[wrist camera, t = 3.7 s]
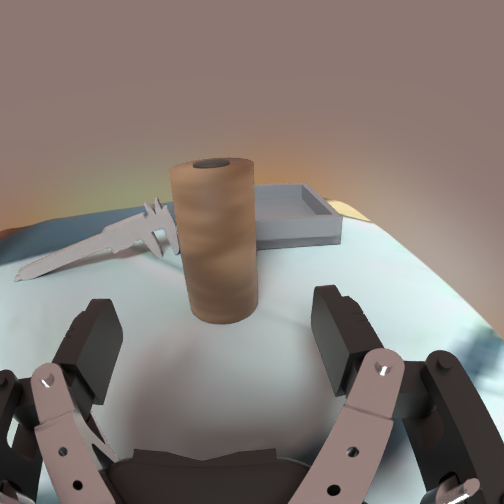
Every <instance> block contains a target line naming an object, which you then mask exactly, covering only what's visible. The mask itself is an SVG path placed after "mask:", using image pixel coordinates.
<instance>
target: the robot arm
mask: <svg viewBox="0 0 504 504" xmlns="http://www.w3.org/2000/svg"><path fill="white" fill-rule="evenodd" d="M311 327H312V332H313V335H314V338H315V340H316V343H317V346H318V349H319V351H320V354H321V357H322V360H323V363H324V365H325V368H326V371H327V374H328V377H329V379H330V382H331V385H332V388H333V391H334V394H335V397H338V396H342V395H345V396H346V399H347V400H346V402H345V404H344V406H343V408H342V410H341V412H340V414H339V416H338V418H337V420H336V422H335V424H334V426H333V428H332V430H331V432H330V434H329V436H328V438H327V440H326V441H325V443H324V445H323V447H322V449H321V451H320V452H319V454H318V456H317V458H316V460H315V461H314V463H313V465H312V466H310V465H308V464H306V463H303V462H301V461H298V460H295V459H291V458H286V457H279V456H276V450H275V449H267V450H256V451H244V452H237V453H233V454H229V455H226V456H222V457H218V458H214V459H210V460H205V461H199V460H195V459H191V458H187V457H183V456H179V455H176V454H172V453H169V452H161V451H149V450H139V449H134V454H133V457H131V458H127V459H123V460H119V458H118V457H117V456H116V454H115V453H114V452H113V450H112V449H111V447H110V446H109V444H108V442H107V440H106V438H105V436H104V434H103V432H102V430H101V428H100V426H99V424H98V422H97V420H96V418H95V416H94V414H93V412H92V411H91V407H92V404H96V405H103V404H104V400H105V397H106V393H107V390H108V386H109V383H110V379H111V376H112V373H113V370H114V366H115V363H116V360H117V357H118V354H119V351H120V348H121V345H122V341H123V331H122V327H121V324H120V322H119V319H118V317H117V314H116V311H115V308H114V306H113V303H112V301H111V300H110V299H92V300H91V301H90V303H89V305H88V307H87V308H86V310H85V311H82V312H81V313H80V314H79V315H78V316H77V317H76V318H75V319H74V320H73V322H72V324H71V326H70V328H69V330H68V331H67V333H66V335H65V336H66V337H64V339H63V341H62V343H61V345H60V347H59V349H58V351H57V353H56V355H55V357H54V359H53V361H52V363H46V364H43V365H41V366H40V367H38V368H37V369H36V370H35V371H34V373H33V375H32V377H30V378H24V379H17V377H16V376H15V375H14V373H13V372H12V371H10V370H2V371H0V504H36V498H37V491H38V484H39V478H40V473H41V467H42V462H43V460H44V463H45V466H46V469H47V471H48V474H49V477H50V479H51V482H52V484H53V487H54V489H55V491H56V494H57V496H58V498H59V500H60V502H61V504H367V503H366V502H364V501H363V500H364V498H365V496H366V493H367V491H368V489H369V487H370V485H371V482H372V480H373V478H374V475H375V473H376V471H377V468H378V466H379V463H380V461H381V458H382V455H383V453H384V450H385V447H386V444H387V442H388V439H389V436H390V433H391V430H392V427H393V422H394V420H393V419H391V418H401V419H402V421H403V424H404V427H405V429H406V432H407V435H408V437H409V440H410V443H411V446H412V449H413V451H414V454H415V457H416V460H417V463H418V466H419V469H420V472H421V475H422V478H423V482H424V485H425V488H426V491H427V493H426V494H425V495H424V497H423V498H422V500H421V502H420V504H504V443H503V440H502V438H501V436H500V434H499V432H498V430H497V428H496V426H495V424H494V422H493V420H492V418H491V416H490V414H489V412H488V410H487V408H486V406H485V405H484V403H483V401H482V399H481V397H480V395H479V394H478V392H477V390H476V388H475V387H474V385H473V383H472V382H471V380H470V378H469V376H468V375H467V373H466V372H465V370H464V368H463V367H462V365H461V363H460V362H459V360H458V359H457V358H456V357H455V356H454V355H453V354H451V353H450V352H447V351H443V350H437V351H434V352H432V353H430V354H429V356H428V357H427V359H426V361H403V360H402V358H401V357H400V356H399V355H398V354H397V353H396V352H394V351H392V350H389V349H385V348H384V347H383V345H382V343H381V341H380V340H379V338H378V336H377V334H376V333H375V331H374V329H373V328H372V326H371V324H370V323H369V322H368V319H367V317H366V316H365V314H363V311H362V309H361V308H360V306H359V304H358V303H357V302H356V301H354V300H353V299H352V298H350V297H349V296H344V297H342V296H341V294H340V292H339V291H338V289H337V287H336V286H335V285H326V286H316V287H315V289H314V296H313V305H312V313H311ZM12 418H14V419H15V420H16V421H17V422H18V423H19V424H18V427H17V430H16V434H15V437H14V441H13V444H12V448H10V446H9V445H8V442H7V433H8V430H9V427H10V424H11V421H12Z"/></svg>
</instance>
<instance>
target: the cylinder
mask: <svg viewBox="0 0 504 504" xmlns="http://www.w3.org/2000/svg"><path fill="white" fill-rule="evenodd" d="M169 171H170V180H171V188H172V196H173V204H174V211H175V218H176V225H177V232H178V239H179V245H180V251H181V257H182V263H183V269H184V275H185V280H186V286H187V291H188V296H189V301H190V306H191V310H192V312H193V314H194V315H195V316H196V317H197V318H199V319H200V320H202V321H204V322H207V323H211V324H230V323H235V322H238V321H241V320H243V319H245V318H247V317H248V316H250V315H251V314H252V313H253V312H254V311H255V309H256V307H257V304H258V293H257V258H256V225H255V194H254V163H253V161H251V160H248V159H241V158H212V159H203V160H196V161H191V162H186V163H182V164H179V165H176V166H174V167H172V168H171V169H170V170H169Z"/></svg>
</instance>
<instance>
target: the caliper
mask: <svg viewBox="0 0 504 504" xmlns="http://www.w3.org/2000/svg"><path fill="white" fill-rule="evenodd" d="M144 206H145V208H146V210H147V212H148V215H147V216H146V214H145V212H143V213H140V214H137V215H135V216H132V217H129V218H127V219H124V220H122V221H119V222H117V223H114V224H112V225H109V226H107V227H105V228H104V230H103V233H100V234H98V235H95V236H93V237H90V238H88V239H85V240H83V241H80V242H78V243H76V244H73V245H71V246H69V247H66V248H64V249H61V250H59V251H57V252H55V253H52V254H50V255H48V256H46V257H43V258H41V259H39V260H37V261H35V262H33V263H30V264H28V265H26V266H24V267H22V268H21V269H20V270H19V272H18V273H19V274H17V276H16V277H15V279H14V282H16V281H19V280H21V279H22V280H29V279H33V278H36V277H38V276H40V275H43V274H45V273H47V272H49V271H52V270H54V269H57V268H59V267H61V266H64V265H66V264H68V263H71V262H73V261H76V260H79V259H81V258H84V257H86V256H89V255H91V254H94V253H96V252H99V251H102V250H104V249H107V248H111V250H112V252H113V253H114V254H115V253H117V252H119V251H120V250H122V249H128V248H129V247H130V246H132V245H133V244H134V243H135V241H138V240H142V241H143V242H144V243H145V245H146V246H147V247H148V248H149V249H150V250H151V251H152V252H153V253H154V254H155V256H156V257H157V258H160V257H163V252H162V250H161V247H160V244H159V242H158V240H157V238H156V236H155V234H154V232H153V231H155V230H158V229H160V228H163V230H164V232H165V234H166V236H167V239H168V241H169V243H170V245H171V247H172V249H173V251H174V253H175V255H176V254H178V252H179V244H178V237H177V231H176V224H175V221H174V219H173V217H172V214H171V212H170V210H169V208H168V206H167V205H165V206H162V207H161V204H160V202H159V200H158V197H156V199H155V209H154V207H153V206H152V205H151V204H150V203H148V202H147V201H145V202H144Z"/></svg>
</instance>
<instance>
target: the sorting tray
mask: <svg viewBox="0 0 504 504" xmlns="http://www.w3.org/2000/svg"><path fill="white" fill-rule="evenodd" d="M254 194H255V225H256V250H262V249H276V248H290V247H305V246H319V245H334V244H340V240H341V230H342V220H343V217H342V216H341V215H340V214H339V213H338V212H337V211H336V210H335V209H334V208H333V207H332V206H331V205H330V204H329V203H327V202H326V201H325V200H324V199H323V198H322V197H321V196H320V195H319V194H317V193H316V192H315V191H314V190H313V189H312V188H311V187H310V186H309V185H308V184H307V183H289V184H263V185H254Z"/></svg>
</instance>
